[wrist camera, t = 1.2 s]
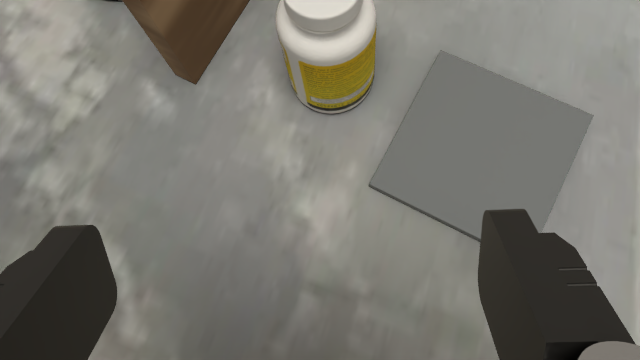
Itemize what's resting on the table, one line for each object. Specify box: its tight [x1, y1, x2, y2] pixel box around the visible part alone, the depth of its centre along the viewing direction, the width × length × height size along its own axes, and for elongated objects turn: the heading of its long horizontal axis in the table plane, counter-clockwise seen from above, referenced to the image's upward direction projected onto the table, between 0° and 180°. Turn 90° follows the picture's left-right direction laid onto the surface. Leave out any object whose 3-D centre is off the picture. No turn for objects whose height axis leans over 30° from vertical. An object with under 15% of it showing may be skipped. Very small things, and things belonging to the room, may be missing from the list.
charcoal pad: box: [369, 50, 594, 242], centre depth 33 cm, size 10×10×1 cm
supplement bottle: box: [276, 0, 376, 114], centre depth 31 cm, size 5×5×10 cm
